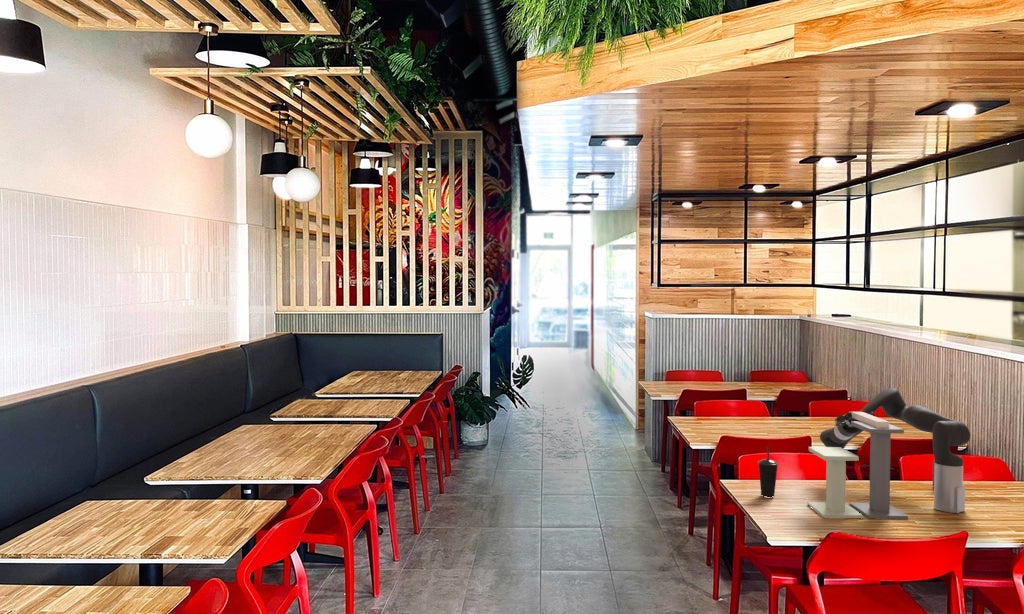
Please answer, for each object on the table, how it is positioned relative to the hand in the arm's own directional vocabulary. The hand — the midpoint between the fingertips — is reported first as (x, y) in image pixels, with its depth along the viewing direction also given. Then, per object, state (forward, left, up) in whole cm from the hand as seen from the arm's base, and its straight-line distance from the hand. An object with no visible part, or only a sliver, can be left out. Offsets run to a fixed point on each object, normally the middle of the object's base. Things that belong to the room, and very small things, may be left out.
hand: (862, 414), depth 285 cm
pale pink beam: (-5, +4, -2) cm, 7 cm away
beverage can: (-10, -46, -34) cm, 58 cm away
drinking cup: (+25, +24, -34) cm, 49 cm away
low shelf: (-1, +21, -34) cm, 40 cm away
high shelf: (-10, +8, -34) cm, 36 cm away
